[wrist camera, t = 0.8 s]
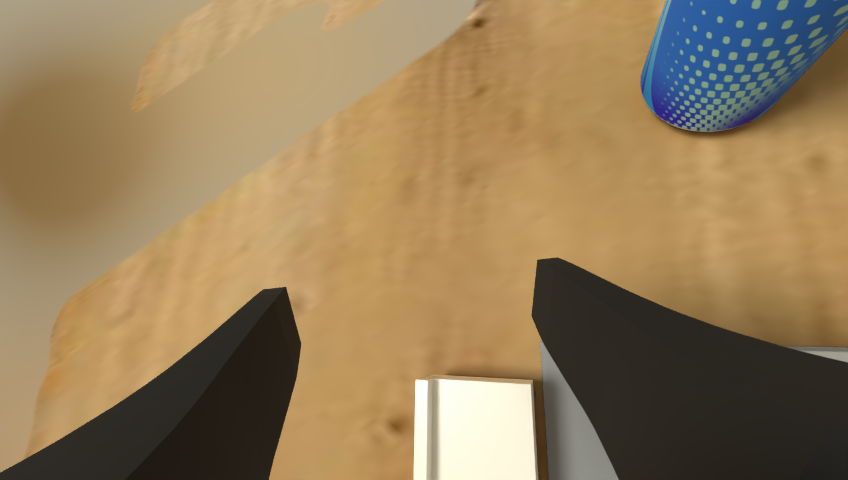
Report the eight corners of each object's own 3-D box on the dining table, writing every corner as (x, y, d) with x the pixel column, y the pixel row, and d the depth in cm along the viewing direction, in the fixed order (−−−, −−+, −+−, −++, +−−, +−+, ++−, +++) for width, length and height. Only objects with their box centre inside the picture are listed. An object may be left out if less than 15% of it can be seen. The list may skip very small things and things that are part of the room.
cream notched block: (541, 493, 23) (539, 529, 19) (435, 477, 26) (411, 505, 21) (535, 378, 25) (531, 386, 21) (436, 372, 27) (414, 379, 23)
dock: (931, 603, 18) (1049, 686, 13) (552, 533, 23) (552, 577, 19) (860, 347, 21) (938, 350, 16) (540, 340, 26) (537, 341, 22)
